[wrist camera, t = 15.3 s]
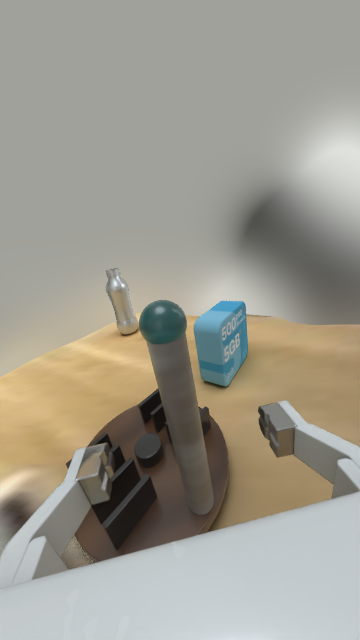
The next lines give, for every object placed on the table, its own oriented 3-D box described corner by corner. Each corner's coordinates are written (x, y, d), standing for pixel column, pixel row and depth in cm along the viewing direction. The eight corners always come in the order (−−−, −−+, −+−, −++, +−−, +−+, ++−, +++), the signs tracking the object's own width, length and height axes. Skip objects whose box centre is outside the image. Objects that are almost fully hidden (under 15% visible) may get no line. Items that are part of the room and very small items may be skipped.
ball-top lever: (48, 478, 23) (-47, 322, 16) (157, 389, 34) (127, 275, 27) (137, 667, 12) (-58, 414, 5) (256, 441, 23) (248, 269, 16)
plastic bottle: (143, 327, 67) (127, 266, 60) (133, 337, 61) (114, 270, 54) (126, 328, 69) (109, 268, 62) (115, 337, 63) (95, 272, 56)
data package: (225, 391, 33) (218, 324, 29) (201, 383, 36) (191, 322, 32) (248, 354, 42) (245, 299, 38) (228, 350, 45) (223, 298, 40)
